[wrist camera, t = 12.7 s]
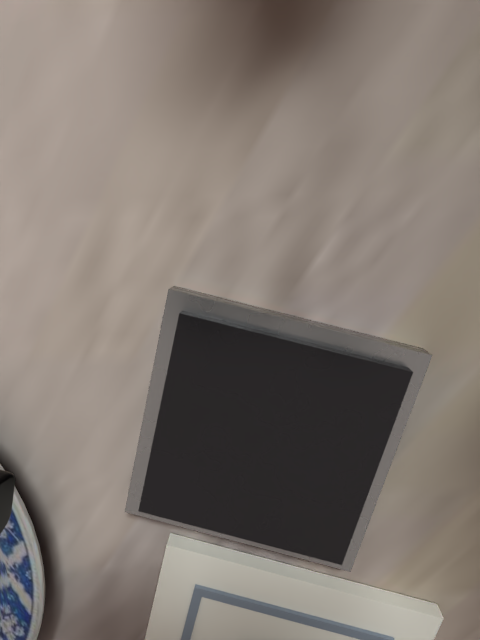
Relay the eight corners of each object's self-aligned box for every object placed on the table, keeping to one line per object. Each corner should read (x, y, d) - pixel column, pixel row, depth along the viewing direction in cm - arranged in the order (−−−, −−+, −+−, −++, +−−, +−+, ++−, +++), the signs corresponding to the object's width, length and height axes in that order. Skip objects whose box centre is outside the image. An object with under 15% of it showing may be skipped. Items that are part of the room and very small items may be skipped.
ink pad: (423, 348, 18) (438, 359, 16) (346, 555, 20) (352, 582, 19) (174, 286, 18) (165, 290, 16) (131, 498, 21) (120, 520, 19)
